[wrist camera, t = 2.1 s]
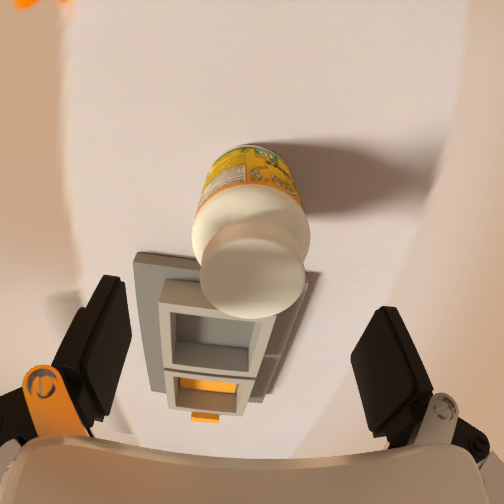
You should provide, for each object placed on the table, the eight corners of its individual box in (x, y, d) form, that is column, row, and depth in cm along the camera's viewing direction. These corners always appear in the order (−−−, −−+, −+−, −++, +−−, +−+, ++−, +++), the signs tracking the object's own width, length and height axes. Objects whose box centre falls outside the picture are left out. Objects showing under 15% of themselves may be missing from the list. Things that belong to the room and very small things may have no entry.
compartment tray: (137, 252, 22) (119, 291, 19) (307, 273, 24) (316, 314, 20) (153, 382, 33) (147, 414, 29) (261, 394, 34) (262, 426, 31)
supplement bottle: (191, 169, 19) (150, 261, 11) (266, 127, 17) (284, 191, 9) (235, 232, 21) (229, 344, 14) (305, 198, 20) (342, 300, 12)
